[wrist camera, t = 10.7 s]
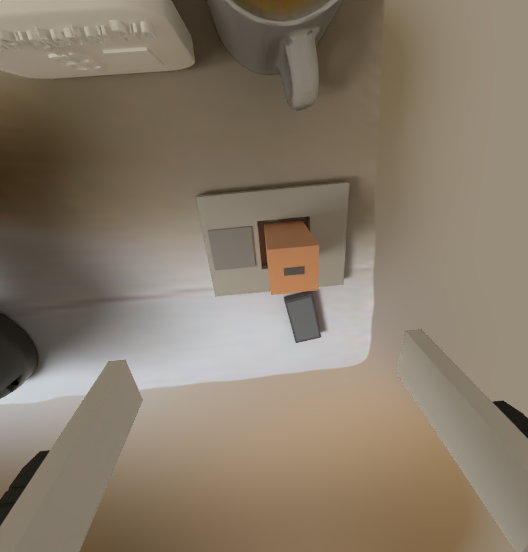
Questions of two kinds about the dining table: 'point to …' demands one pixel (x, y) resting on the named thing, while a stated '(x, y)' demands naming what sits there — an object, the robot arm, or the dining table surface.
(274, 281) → the block
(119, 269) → the dining table surface
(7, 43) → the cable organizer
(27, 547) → the robot arm
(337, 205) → the outlet plate
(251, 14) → the coffee mug
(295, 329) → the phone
